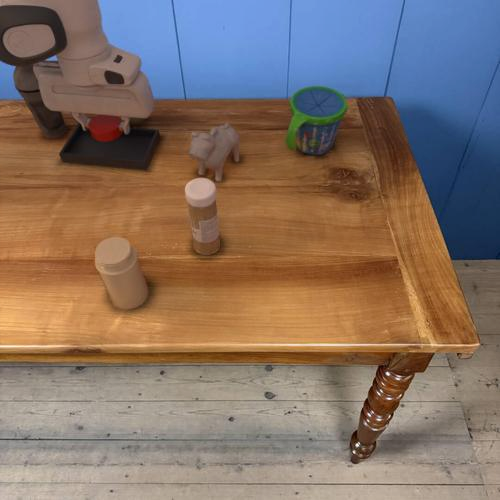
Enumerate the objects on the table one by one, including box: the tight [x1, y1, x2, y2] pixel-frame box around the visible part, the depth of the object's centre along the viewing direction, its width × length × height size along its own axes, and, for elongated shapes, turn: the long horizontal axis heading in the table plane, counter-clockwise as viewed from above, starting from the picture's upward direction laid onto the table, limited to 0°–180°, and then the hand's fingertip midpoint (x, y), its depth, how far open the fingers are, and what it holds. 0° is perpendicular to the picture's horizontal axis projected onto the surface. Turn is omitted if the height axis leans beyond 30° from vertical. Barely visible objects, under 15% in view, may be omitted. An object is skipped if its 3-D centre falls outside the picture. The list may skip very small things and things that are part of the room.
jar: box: [94, 236, 149, 311], centre depth 67 cm, size 6×6×11 cm
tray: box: [58, 122, 162, 171], centre depth 92 cm, size 17×10×2 cm, turn 82°
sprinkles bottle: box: [184, 177, 221, 256], centre depth 71 cm, size 5×5×13 cm
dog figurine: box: [187, 122, 240, 182], centre depth 84 cm, size 5×13×11 cm, turn 151°
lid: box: [89, 114, 122, 142], centre depth 88 cm, size 6×6×2 cm
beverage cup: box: [12, 64, 67, 140], centre depth 89 cm, size 7×7×20 cm
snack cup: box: [284, 85, 349, 156], centre depth 89 cm, size 16×10×10 cm
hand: (107, 130), depth 89 cm, fingers closed on lid, 6 cm apart
